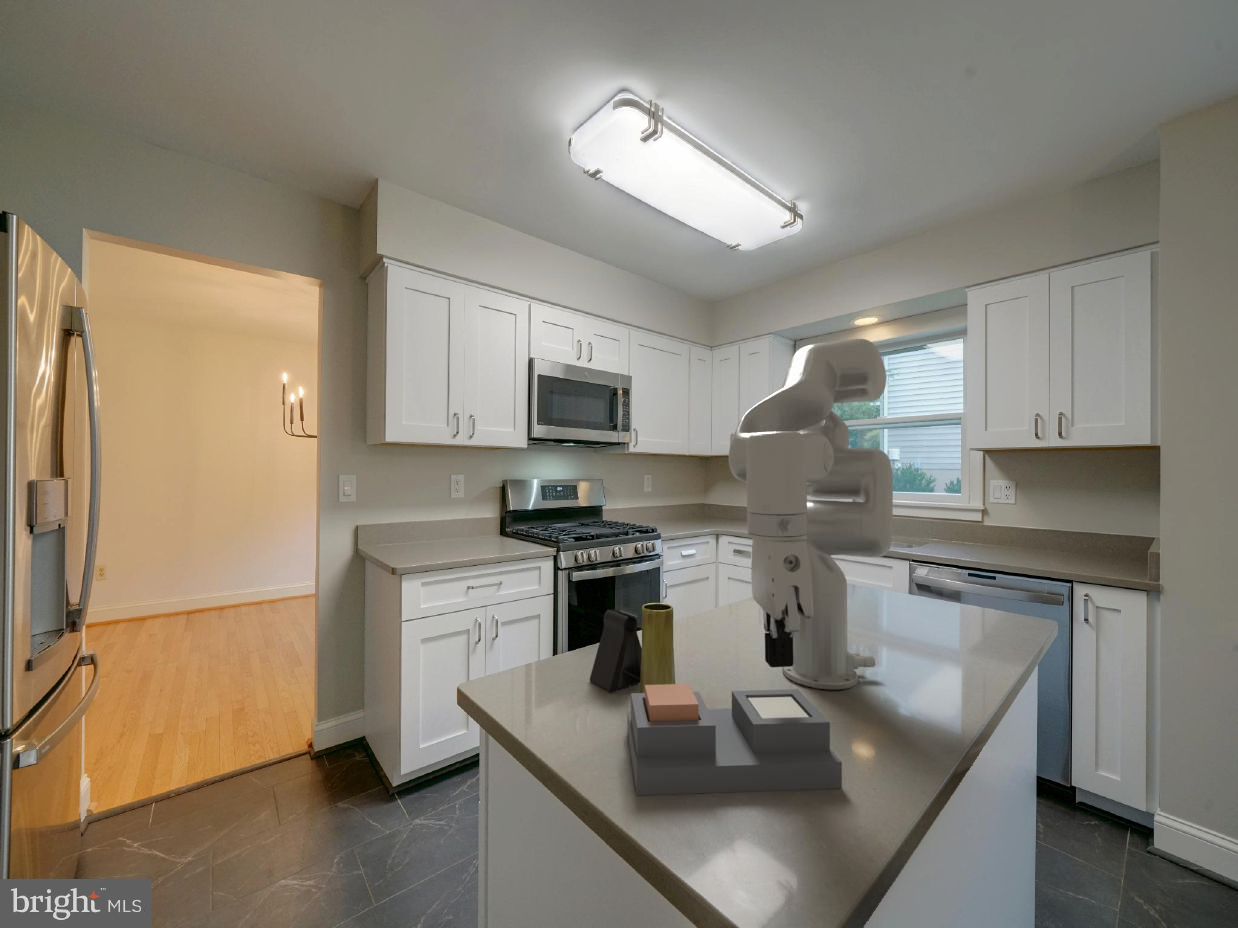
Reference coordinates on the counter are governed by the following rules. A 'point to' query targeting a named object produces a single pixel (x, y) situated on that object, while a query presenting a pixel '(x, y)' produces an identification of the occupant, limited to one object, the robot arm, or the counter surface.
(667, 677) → the vase
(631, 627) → the phone stand
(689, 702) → the terracotta button
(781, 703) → the ivory button
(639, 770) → the button panel
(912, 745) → the counter surface
